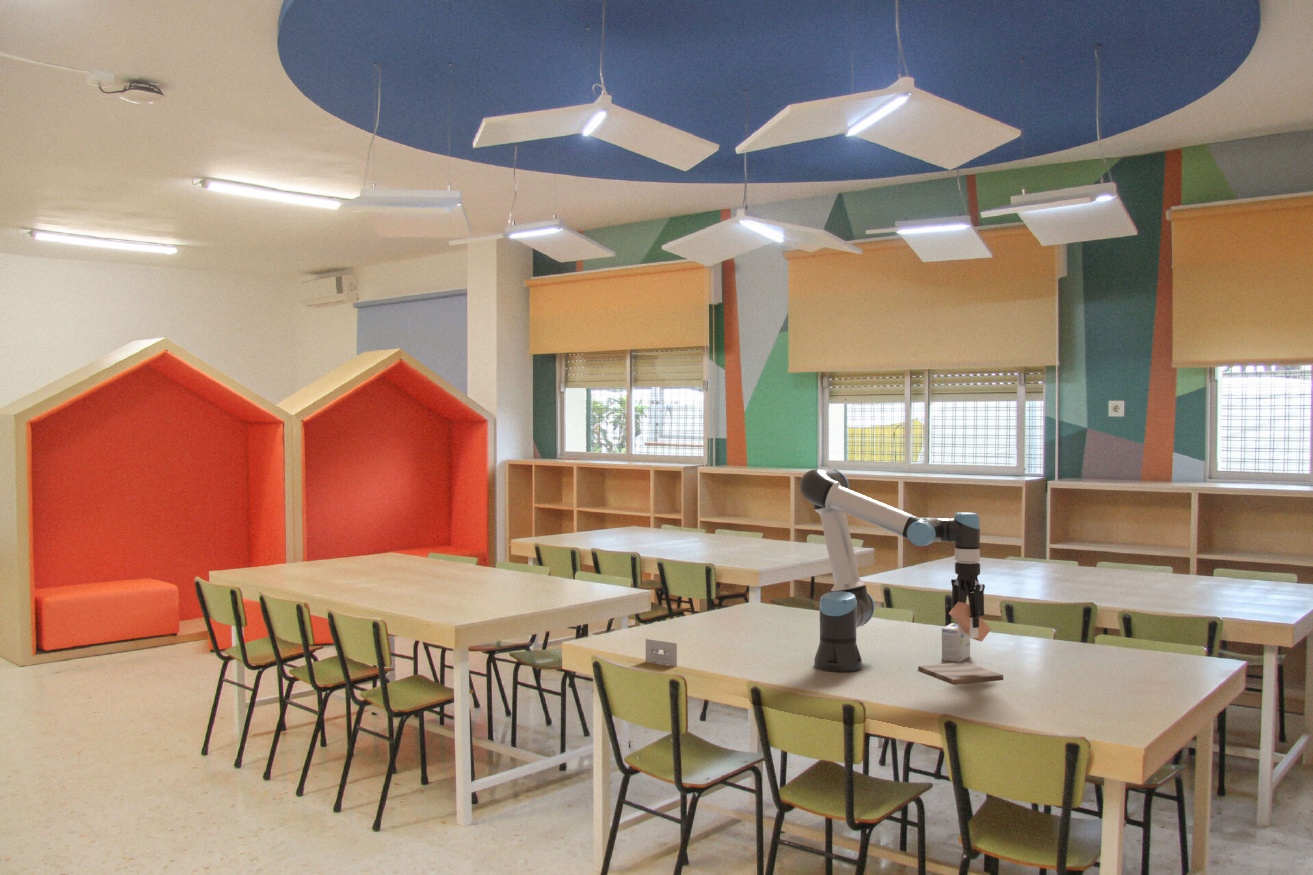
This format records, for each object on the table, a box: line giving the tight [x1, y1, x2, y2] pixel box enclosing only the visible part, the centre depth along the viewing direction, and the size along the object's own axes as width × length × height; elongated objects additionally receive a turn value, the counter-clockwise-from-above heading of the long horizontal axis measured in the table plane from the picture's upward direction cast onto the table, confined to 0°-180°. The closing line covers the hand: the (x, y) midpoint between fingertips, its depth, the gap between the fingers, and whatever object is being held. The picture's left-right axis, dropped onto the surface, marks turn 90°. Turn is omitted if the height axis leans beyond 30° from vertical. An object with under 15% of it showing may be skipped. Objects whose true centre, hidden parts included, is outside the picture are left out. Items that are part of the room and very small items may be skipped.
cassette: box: [645, 638, 678, 668], centre depth 299 cm, size 12×2×8 cm, turn 55°
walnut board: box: [917, 661, 1004, 685], centre depth 286 cm, size 18×18×1 cm
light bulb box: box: [941, 622, 971, 663], centre depth 308 cm, size 11×7×11 cm, turn 144°
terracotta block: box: [948, 602, 992, 642], centre depth 287 cm, size 5×5×12 cm
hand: (968, 635), depth 287 cm, fingers closed on terracotta block, 5 cm apart
